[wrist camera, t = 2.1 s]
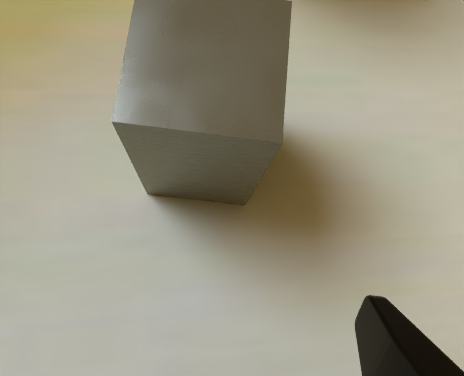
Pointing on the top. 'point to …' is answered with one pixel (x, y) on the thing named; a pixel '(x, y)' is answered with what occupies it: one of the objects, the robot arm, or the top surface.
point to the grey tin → (203, 95)
